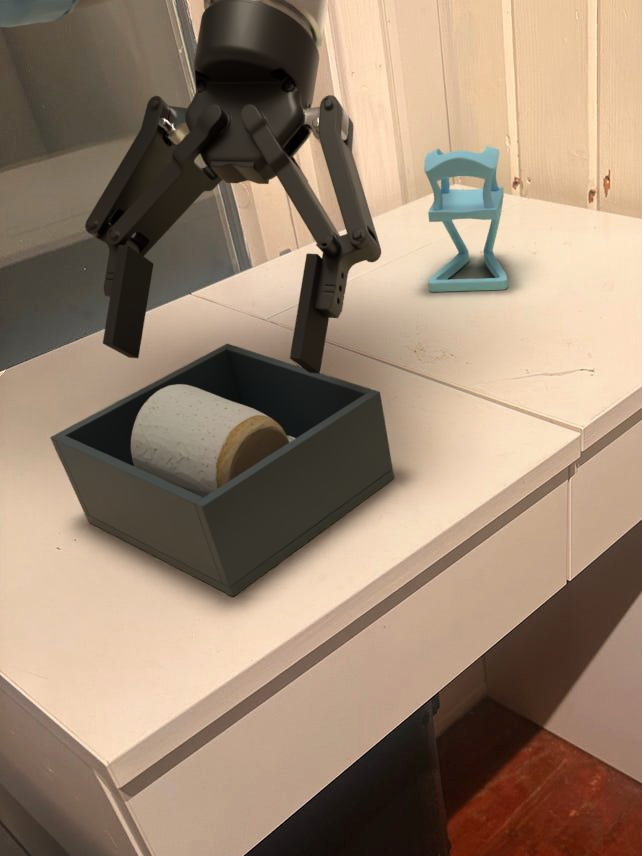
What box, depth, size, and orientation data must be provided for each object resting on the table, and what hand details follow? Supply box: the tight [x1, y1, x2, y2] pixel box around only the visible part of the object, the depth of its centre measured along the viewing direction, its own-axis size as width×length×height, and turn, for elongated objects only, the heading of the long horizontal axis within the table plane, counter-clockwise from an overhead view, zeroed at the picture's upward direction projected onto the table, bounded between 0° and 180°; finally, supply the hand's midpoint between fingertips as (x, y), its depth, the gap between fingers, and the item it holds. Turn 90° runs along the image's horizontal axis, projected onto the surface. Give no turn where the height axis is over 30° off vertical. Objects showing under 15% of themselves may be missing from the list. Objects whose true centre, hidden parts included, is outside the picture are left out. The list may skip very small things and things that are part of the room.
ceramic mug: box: [131, 384, 296, 498], centre depth 62 cm, size 11×8×8 cm
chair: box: [423, 145, 509, 293], centre depth 87 cm, size 8×8×12 cm
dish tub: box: [50, 343, 395, 597], centre depth 62 cm, size 15×15×7 cm
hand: (210, 359), depth 59 cm, fingers open, 13 cm apart
